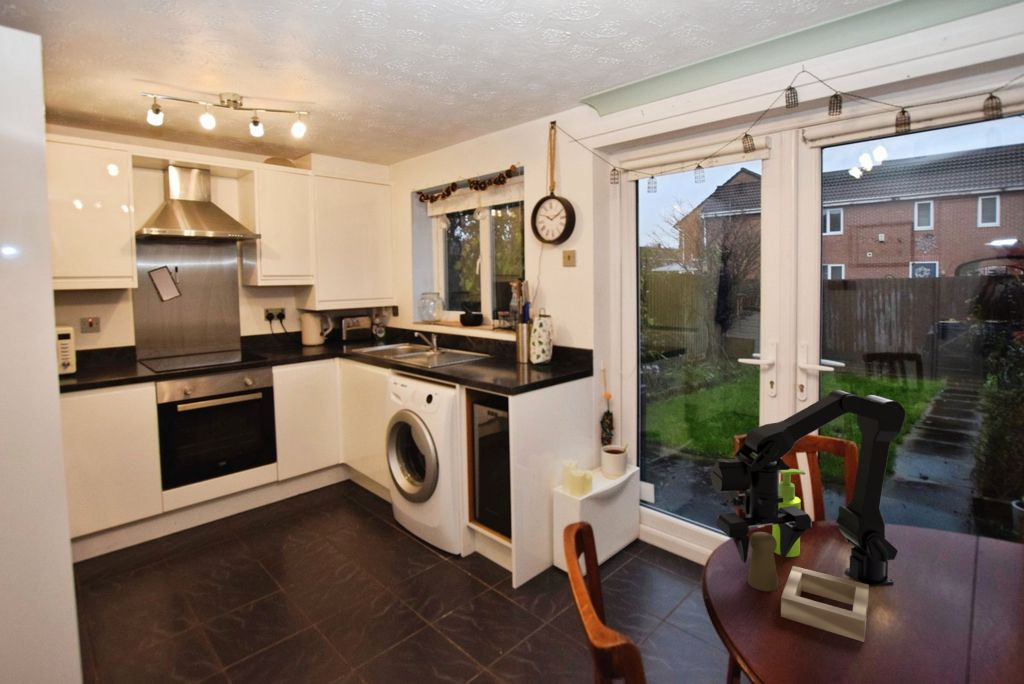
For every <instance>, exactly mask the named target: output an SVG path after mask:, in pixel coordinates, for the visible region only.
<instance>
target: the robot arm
mask: <svg viewBox="0 0 1024 684" xmlns="http://www.w3.org/2000/svg"><path fill="white" fill-rule="evenodd" d="M847 413H851V414H854V415H856V423H857V426H858V429H859V432H860V434H861V443H860V448H859V456H858V461H857V468H856V475H855V480H854V486H853V492H852V493H853V494H852V499H851V501H850V502H849V503H848V504H847V505H846V506H842V505H840V506H838V516H837V519H836V520H835V523H836V524H838V530H839V532H840V533H841V535H843V537H844V538H845V541H846V542H847V543H849V544H851V545H852V546H853V547H851V549H850V555H849V564H848V565H849V568H845V569H844V572H845V573H847V574H848V575H849V576H851V578H854V579H855V580H857V582H859V583H863V584H867V585H869V588H870V587H877V586H878V587H879V586H883V585H884V586H885V585H892V584H894V583H895V582H894V581H895V580H894V579H892V578H891V577H889V576H888V574H889V561H891V560H892V561H894V560H895V559H896V557H897V555H898V549H897V548H896V547H895V546H894V545H893V544H891V543H890V541H888V540H887V539H886V524H885V520H884V517H883V514H882V512H881V510H880V509H881V508H880V507H881V500H882V495H883V488H884V482H885V476H886V470H887V465H888V458H889V452H890V451H889V450H890V448H891V447H890V446H891V442H892V441H893V440H894V439H895V438H896V437H897V436H898V435H899V434H900V433H901V432H902V428H903V426H904V424H905V423H904V422H905V420H906V415H907V412H906V408H904V407H903V405H902V404H901V403H899V402H898V401H896V400H891V399H888V398H885V397H883V396H882V397H881V396H878V395H875V394H869V395H866V396H864V397H863V396H861V395H860V396H859V395H857V394H856V395H855V394H852V393H849V392H846V391H843V390H840V389H835V390H833V391H831V392H830V393H828V395H827V396H825V397H822V398H821V399H819V400H817V401H816V402H814V403H812V404H810V405H808V406H807V407H805V408H803V409H801V410H800V411H798V412H796V413H794V414H793V415H791V416H789V417H787V418H785V419H784V420H781V421H778V422H772V423H771V422H770V423H766V424H763V425H760V426H758V427H755V428H752V429H750V430H749V431H748V432H747V433H746V437H745V440H744V442H743V443H742V444H741V446H740V447H739V449H737V451H736V452H735V454H734V458H729V459H728V458H727V459H724V458H717V459H714V460H715V461H714V463H715V464H714V465H712V469H711V471H710V479H711V484H712V487H713V489H714V491H715V492H717V493H726V494H725V495H726V497H725V500H726V504H727V506H728V507H734V509H735V510H742V513H743V514H744V515H748V517H743V518H742V517H741V516H739V514H737V513H736V512H729V513H721V514H719V515H717V517H716V527H717V528H719V530H721V532H722V533H724V534H725V535H727V536H728V537H729V538H732V540H733V543H734V544H735V547H736V550H737V553H738V555H739V558H740V560H741V562H742V563H743V564H746V563H747V560H748V553H749V547H750V537H751V536H748V534H749V530H750V529H749V528H754V527H762V526H763V527H764V526H771V525H773V524H778V525H779V528H780V554H781V555H780V556H781V557H782V558H787V557H786V556H787V554H788V553H789V551H790V549H791V548H792V546H793V545H794V543H795V542H796V541H797V540H798V538H799V537H800V538H801V536H802V534H804V533H806V532H807V529H809V530H810V529H812V527H813V526H812V524H813V521H812V518H811V516H810V514H809V513H807V512H805V511H804V510H802V509H799V508H797V507H796V506H788V507H780V508H779V503H783V498H782V497H781V496H779V483H780V473H779V470H789V469H791V466H789V465H788V464H787V463H786V462H785V461H784V460H783V457H784V456H786V455H787V454H788V453H789V452H791V450H792V449H793V448H794V446H795V444H796V443H797V442H799V440H801V439H802V438H803V439H804V438H805V437H807V436H808V435H810V434H811V433H813V432H815V431H817V430H819V429H821V428H822V427H824V426H826V425H828V424H829V423H831V422H834V421H835V420H837V419H839V418H840V417H842V416H844V415H846V414H847ZM752 454H753V455H754V456H756V457H755V458H754V457H753V456H751V455H752ZM739 492H744V493H739Z"/></svg>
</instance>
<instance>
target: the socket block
mask: <svg viewBox="0 0 1024 684" xmlns="http://www.w3.org/2000/svg"><path fill="white" fill-rule="evenodd" d="M869 589H870V587H869V585H867V584H863V583H861V582H860V581H855V580H850V579H846V578H842V577H838V576H836V575H835V576H834V575H831V574H827V573H824V572H818V571H815V570H811V569H806V568H802V567H799V566H794V565H792V567H791V570H790V573H789V575H788V578H787V580H786V583H785V585H784V588H783V591H782V594H781V596H780V617H781V618H785V619H788V620H790V621H794V622H798V623H799V624H803V625H806V626H810V627H814V628H816V629H819V630H820V629H821V630H822V631H823V630H824V631H826V632H830V633H833V634H836V635H839V636H843V637H846V638H850V639H854V640H856V641H859V642H863V643H864V642H865V640H866V639H865V637H866V629H867V628H866V627H867V620H868V611H869V610H868V609H869V595H870V594H869ZM802 592H805V593H808V594H812V595H815V596H820V597H823V598H826V599H830V600H834V601H838V602H840V603H841V602H842V603H844V604H848V605H852V610H848V609H845V608H840V607H837V606H834V605H832V604H831V605H830V604H827V603H824V602H819V601H815V600H812V599H809V598H806V597H802V596H801V594H802Z"/></svg>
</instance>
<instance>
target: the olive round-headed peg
mask: <svg viewBox="0 0 1024 684" xmlns="http://www.w3.org/2000/svg"><path fill="white" fill-rule="evenodd" d="M749 537H750V539H749V546H750V547H751V548H752V549H751V555H750V562H749V569H748V575H747V583H748V585H749V586H750V585H751V588H753V587H754V589H755V588H756V590H758V591H761V590H762V592H774V590H775V591H776V590H778V588H779V582H778V575H777V566H776V560H775V552H774V551H775V550H776V547H777V543H776V539H775V538H774V537H773V536H772V533H771V534H770V533H769V532H764V531H757V532H756V531H755V532H753V533H752V534H751V535H750V536H749Z"/></svg>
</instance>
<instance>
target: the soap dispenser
mask: <svg viewBox="0 0 1024 684" xmlns="http://www.w3.org/2000/svg"><path fill="white" fill-rule="evenodd" d="M779 474H781V475H782V481H779V496H781V497H782V498H783V503H779V508H780V507H788V506H796V507H797V508H799V509H801V508H802V507H801V502H802V501H801V499H800V498H799V497H798V496H796V495H795V493H796V487H795V486H796V485H795V484H794V483H793V482H791V481H792V475H802V476H803V475H804V476H805V475H806V472H805V471H803V470H801V469H796V468H790V469H789V470H779ZM801 510H802V509H801ZM771 532H772V533H771V535H772V536H773V537H774V538H775V539H776V543H777V547H776V550H775V551H774V554H777V555H779V556H781V554H780V528H779V525H778V524H773V525H772V531H771ZM800 550H801V536H800V537H799V538H798V540H797V541H796V542H795V543H794V545H793V546H792V548H791V549H790V551H789V553H788V554H787V556H786V557H785V558H795V557H799V556H800V554H801V553H800Z"/></svg>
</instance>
